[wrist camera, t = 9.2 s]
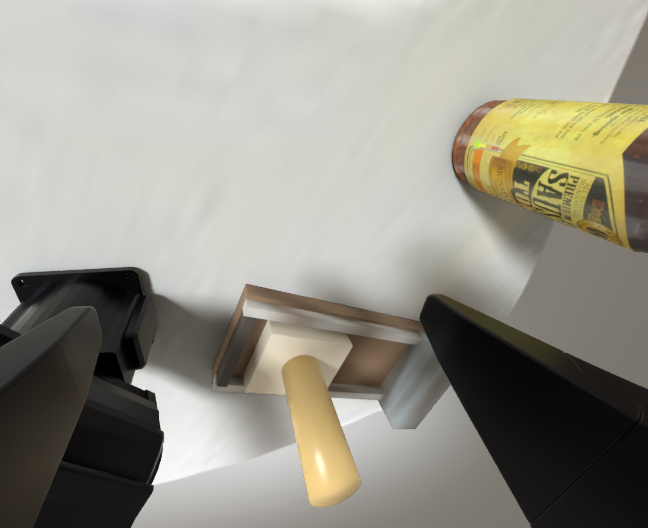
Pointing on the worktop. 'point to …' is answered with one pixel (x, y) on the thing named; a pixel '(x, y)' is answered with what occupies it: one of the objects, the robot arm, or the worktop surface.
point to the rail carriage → (308, 402)
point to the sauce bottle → (563, 163)
